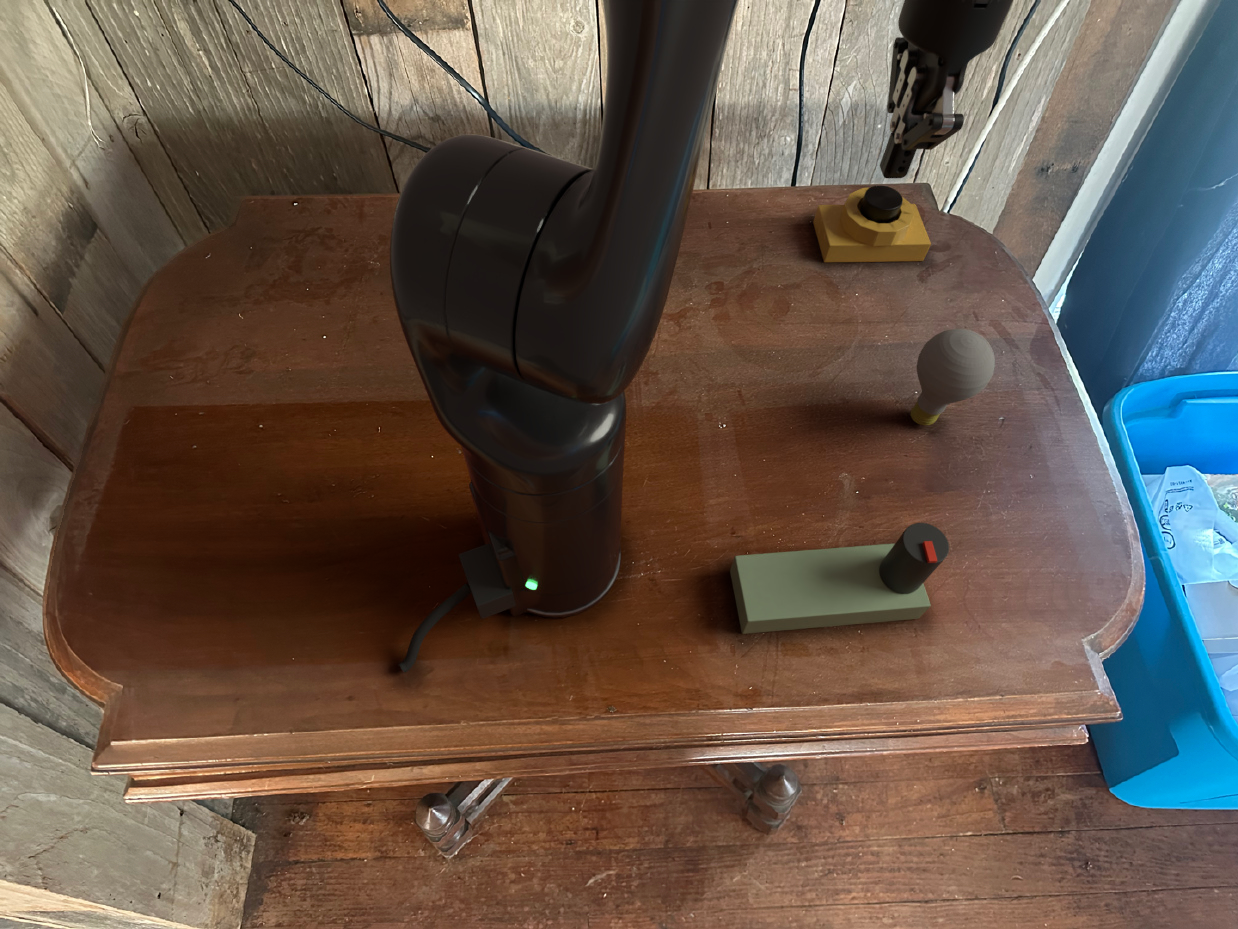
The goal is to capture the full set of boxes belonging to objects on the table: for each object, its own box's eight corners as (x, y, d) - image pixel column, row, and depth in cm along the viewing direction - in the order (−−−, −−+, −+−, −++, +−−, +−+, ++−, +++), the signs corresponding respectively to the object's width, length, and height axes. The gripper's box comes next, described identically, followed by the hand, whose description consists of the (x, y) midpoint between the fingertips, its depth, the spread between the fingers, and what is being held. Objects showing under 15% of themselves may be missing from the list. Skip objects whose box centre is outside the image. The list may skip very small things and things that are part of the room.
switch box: (824, 264, 74) (835, 231, 71) (812, 220, 77) (822, 187, 74) (923, 263, 74) (939, 230, 71) (907, 219, 78) (921, 186, 74)
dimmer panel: (741, 634, 53) (747, 621, 51) (729, 570, 56) (734, 555, 54) (918, 619, 54) (931, 606, 52) (898, 556, 57) (909, 541, 55)
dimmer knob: (874, 555, 54) (899, 520, 49) (916, 554, 54) (944, 519, 50) (884, 594, 52) (910, 562, 48) (926, 593, 52) (956, 561, 48)
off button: (864, 224, 72) (869, 209, 70) (856, 200, 74) (861, 185, 72) (900, 224, 72) (907, 209, 70) (891, 199, 74) (897, 184, 72)
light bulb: (955, 451, 62) (1010, 374, 54) (888, 440, 63) (933, 361, 54) (952, 400, 65) (1005, 319, 57) (889, 390, 65) (931, 308, 57)
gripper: (896, -74, 58) (837, 130, 73) (944, 15, 51) (867, 221, 66) (991, -74, 58) (913, 129, 73) (1051, 15, 51) (951, 220, 66)
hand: (891, 173), depth 69 cm, fingers closed
